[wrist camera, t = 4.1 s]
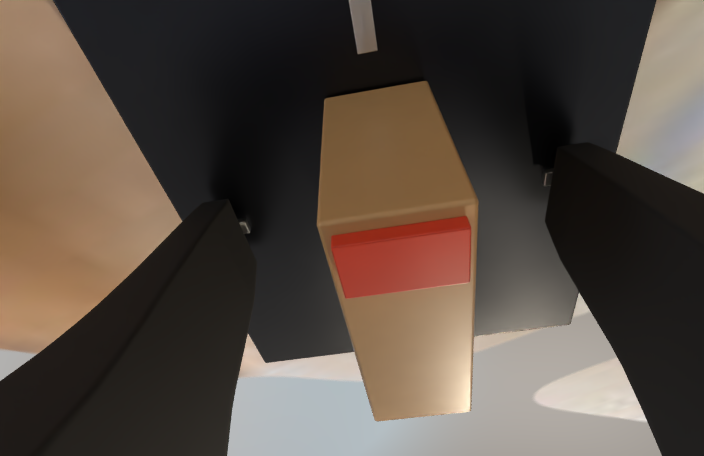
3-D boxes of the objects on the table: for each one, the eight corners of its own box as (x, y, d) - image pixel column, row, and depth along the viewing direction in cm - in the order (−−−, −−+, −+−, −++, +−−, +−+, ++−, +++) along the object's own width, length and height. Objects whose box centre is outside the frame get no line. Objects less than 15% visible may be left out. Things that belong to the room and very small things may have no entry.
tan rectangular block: (438, 275, 11) (475, 425, 8) (365, 285, 12) (375, 435, 8) (427, 78, 8) (486, 212, 5) (323, 96, 8) (313, 237, 5)
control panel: (275, 295, 16) (264, 368, 14) (102, -76, 9) (11, -55, 6) (536, 258, 15) (572, 329, 13) (605, -198, 8) (727, -230, 5)
